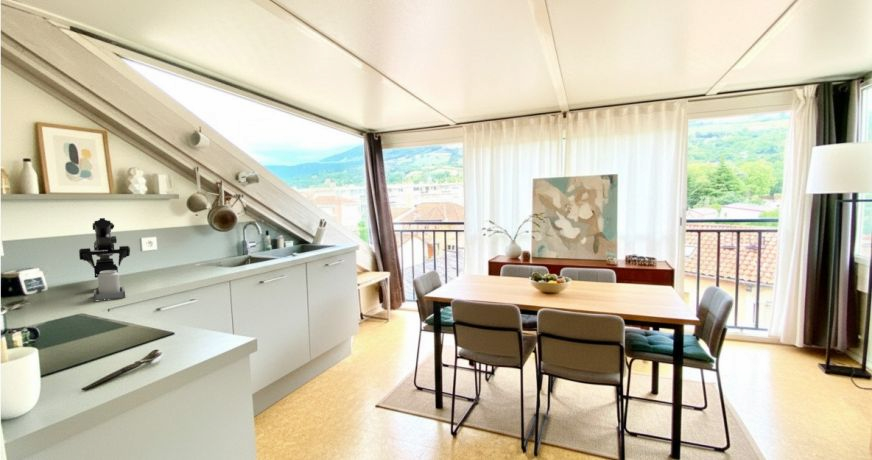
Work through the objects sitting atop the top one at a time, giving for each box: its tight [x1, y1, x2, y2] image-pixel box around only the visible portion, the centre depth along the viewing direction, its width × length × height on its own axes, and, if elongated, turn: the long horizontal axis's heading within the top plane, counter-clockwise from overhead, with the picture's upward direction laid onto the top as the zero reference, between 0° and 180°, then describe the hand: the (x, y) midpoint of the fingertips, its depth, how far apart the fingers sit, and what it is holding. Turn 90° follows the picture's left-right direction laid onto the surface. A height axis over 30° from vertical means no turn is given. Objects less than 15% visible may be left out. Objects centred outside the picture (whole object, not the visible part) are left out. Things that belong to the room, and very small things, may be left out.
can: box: [97, 270, 121, 294], centre depth 180 cm, size 8×8×12 cm
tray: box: [93, 286, 126, 301], centre depth 180 cm, size 11×11×3 cm
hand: (106, 266), depth 184 cm, fingers open, 9 cm apart
